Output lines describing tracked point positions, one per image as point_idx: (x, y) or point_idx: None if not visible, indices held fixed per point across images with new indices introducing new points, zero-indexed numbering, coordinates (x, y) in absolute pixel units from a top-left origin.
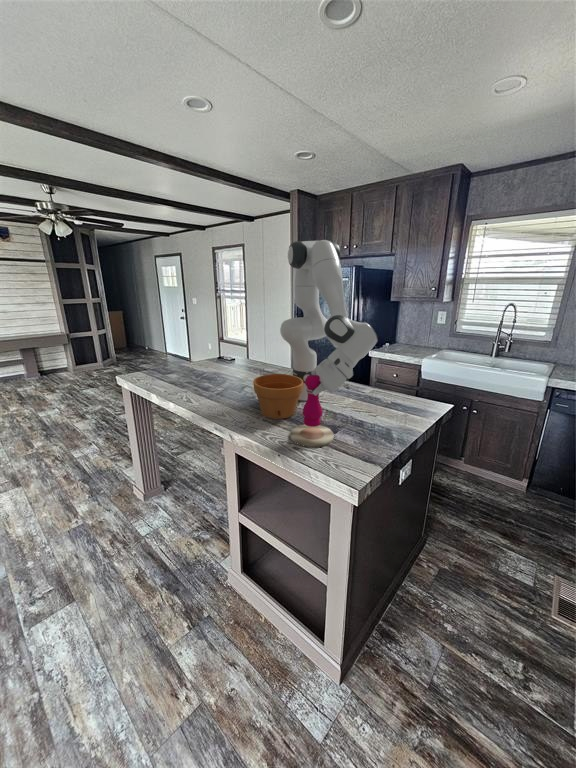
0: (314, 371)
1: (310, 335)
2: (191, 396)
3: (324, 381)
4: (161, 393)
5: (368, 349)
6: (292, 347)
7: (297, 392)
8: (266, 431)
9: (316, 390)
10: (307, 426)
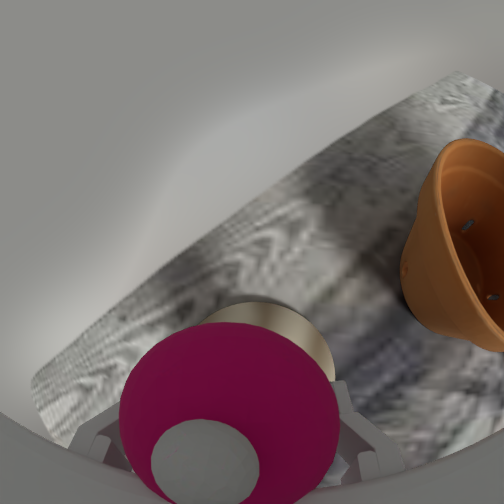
0: (162, 479)
1: None
2: (465, 108)
3: (5, 445)
4: (455, 79)
5: None
6: None
7: (465, 326)
8: (311, 232)
9: None
10: None
